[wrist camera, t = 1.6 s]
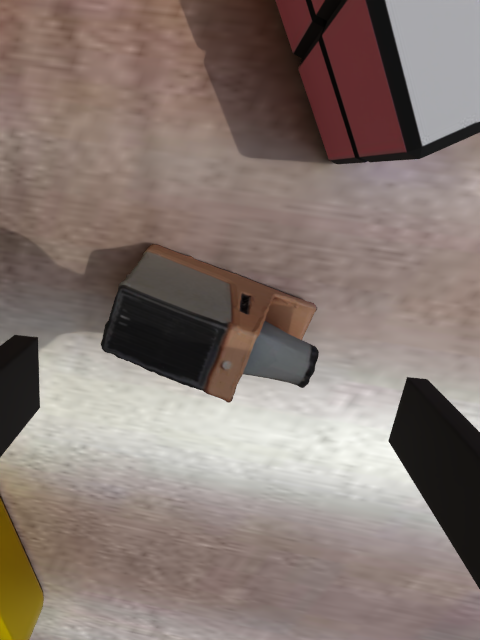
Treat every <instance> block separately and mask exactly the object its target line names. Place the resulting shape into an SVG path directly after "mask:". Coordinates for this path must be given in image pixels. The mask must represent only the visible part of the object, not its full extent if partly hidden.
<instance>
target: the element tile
mask: <svg viewBox="0 0 480 640" xmlns="http://www.w3.org/2000/svg"><path fill="white" fill-rule="evenodd" d="M43 600H44V597H43V592H42V589H41V587H40V585H39V583H38V580H37V578H36V576H35V574H34V572H33V569H32V567H31V565H30V563H29V560H28V558H27V556H26V554H25V551H24V549H23V547H22V545H21V542H20V540H19V538H18V536H17V533H16V531H15V529H14V527H13V525H12V522H11V520H10V518H9V516H8V513H7V511H6V509H5V507H4V504H3V502H2V500H1V498H0V640H29V639H30V637H31V634H32V632H33V629H34V627H35V625H36V622H37V620H38V617H39V615H40V612H41V610H42V607H43Z"/></svg>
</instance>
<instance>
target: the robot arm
mask: <svg viewBox="0 0 480 640" xmlns="http://www.w3.org/2000/svg"><path fill="white" fill-rule="evenodd" d="M39 408H40V397H39V360H38V337H29V336H20V335H14V336H13V337H11V338H10V339H9V340H7V341H6V342H5V343H3V344H2V345H1V346H0V457H1V456H2V454H3V453H4V452H5V451H6V449H7V448H8V447H9V446H10V444H11V443H12V442H13V441H14V439H15V438H16V437H17V436H18V434H19V433H20V432H21V431H22V429H23V428H24V427H25V426H26V424H27V423H28V422H29V421H30V419H31V418H32V417H33V416H34V414H35V413H36V412H37V411H38V409H39ZM389 443H390V444H391V446H392V447H393V449H394V451H395V452H396V454H397V456H398V457H399V459H400V460H401V462H402V464H403V465H404V467H405V469H406V470H407V472H408V473H409V475H410V477H411V478H412V480H413V482H414V483H415V485H416V486H417V488H418V490H419V491H420V493H421V495H422V496H423V498H424V499H425V501H426V503H427V504H428V506H429V508H430V509H431V511H432V512H433V514H434V516H435V517H436V519H437V521H438V522H439V524H440V525H441V527H442V529H443V530H444V532H445V534H446V535H447V537H448V538H449V540H450V542H451V543H452V545H453V547H454V548H455V550H456V551H457V553H458V555H459V556H460V558H461V560H462V561H463V563H464V564H465V566H466V568H467V569H468V571H469V573H470V574H471V576H472V577H473V579H474V581H475V582H476V584H477V586H478V587H479V589H480V432H479V431H478V430H477V429H476V428H475V427H474V426H473V425H472V424H471V423H470V422H469V421H468V420H467V419H466V418H465V417H464V416H463V415H462V414H461V413H460V412H459V411H458V410H457V409H456V408H455V407H454V406H453V405H452V404H451V403H450V402H449V401H448V400H447V399H446V398H445V397H444V396H443V395H442V394H441V393H440V392H439V391H438V390H437V389H436V388H435V387H434V386H433V385H432V384H431V383H430V382H429V381H428V380H427V379H419V378H410V377H407V380H406V383H405V386H404V390H403V393H402V397H401V400H400V403H399V407H398V410H397V414H396V417H395V421H394V424H393V427H392V431H391V434H390V438H389Z"/></svg>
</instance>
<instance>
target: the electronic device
mask: <svg viewBox="0 0 480 640" xmlns="http://www.w3.org/2000/svg"><path fill="white" fill-rule="evenodd" d="M316 310H317V307H316V305H315V304H314V303H311V302H307V301H305V300H302V299H299V298H296V297H293V296H290V295H288V294H285V293H283V292H280V291H278V290H275V289H272V288H270V287H267V286H265V285H262V284H260V283H257V282H255V281H252V280H250V279H247V278H244V277H241V276H239V275H237V274H235V273H230V272H227V271H225V270H222V269H219V268H217V267H214V266H212V265H210V264H206V263H204V262H201V261H198V260H196V259H194V258H193V257H191V256H185V255H182V254H180V253H177V252H174V251H172V250H169V249H166V248H164V247H162V246H160V245H155V244H152V245H151V246H150V247H149V248H147V250H146V251H145V252H144V253H143V257H142V259H141V260H140V261H139V262H138V264H137V266H136V267H135V268H134V269H133V270H132V272H131V273H130V274H129V275H127V276H126V279H125V281H122V282H121V283H120V284H119V288H118V292H117V295H116V297H115V300H114V304H113V307H112V310H111V313H110V317H109V321H108V322H107V323H106V324H105V329H104V334H103V340H102V342H101V346H102V349H103V350H104V351H105V352H107V353H111V354H114V355H115V356H116V357H118V358H121V359H124V360H126V361H130V362H132V363H134V364H136V365H139V366H141V367H143V368H145V369H146V370H148V371H151V372H155V373H157V374H158V375H161V376H164V377H167V378H169V379H171V380H174V381H176V382H179V383H181V384H183V385H188V386H190V387H194V388H196V389H199V390H203V391H204V392H205V393H207V394H210V395H213V396H215V397H218V398H221V399H223V400H225V401H226V402H231V401H232V399H233V395H234V393H235V389H236V386H237V384H238V382H239V380H240V377H241V376H242V374H246V375H253V376H258V377H264V378H270V379H275V380H280V381H284V382H289V383H292V384H295V385H298V386H299V387H301V388H304V387H305V386H306V385H307V384H308V383H309V379H310V377H311V376H312V375H313V373H314V371H315V364H316V361H317V359H318V353H319V352H318V350H317V348H316V347H315V346H313V345H311V344H309V343H307V342H304V341H302V338H303V336H304V334H305V332H306V330H307V328H308V325H309V323H310V321H311V319H312V317H313V315H314V312H315V311H316Z"/></svg>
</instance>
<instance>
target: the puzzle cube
mask: <svg viewBox="0 0 480 640" xmlns="http://www.w3.org/2000/svg"><path fill="white" fill-rule="evenodd" d="M275 1H276V4H277V7H278V10H279V13H280V16H281V19H282V22H283V25H284V28H285V31H286V34H287V37H288V40H289V43H290V46H291V49H292V52H293V54H294V55H297V56H299V57H301V58H302V60H301V63H300V65H299V68H298V69H299V72H300V75H301V78H302V81H303V84H304V87H305V90H306V93H307V96H308V99H309V102H310V105H311V108H312V111H313V114H314V117H315V120H316V123H317V126H318V129H319V132H320V135H321V138H322V141H323V144H324V147H325V150H326V153H327V156H328V159H329V161H331V162H333V163H336V164H348V163H363V162H367V161H369V162H379V161H394V160H409V159H420V158H423V157H425V156H427V155H429V154H432V153H434V152H436V151H439V150H441V149H443V148H445V147H448V146H450V145H452V144H454V143H457V142H459V141H461V140H463V139H466V138H468V137H470V136H472V135H475V134H477V133H479V132H480V0H275Z"/></svg>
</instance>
